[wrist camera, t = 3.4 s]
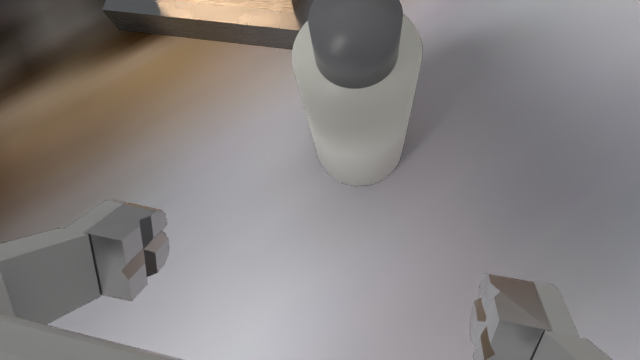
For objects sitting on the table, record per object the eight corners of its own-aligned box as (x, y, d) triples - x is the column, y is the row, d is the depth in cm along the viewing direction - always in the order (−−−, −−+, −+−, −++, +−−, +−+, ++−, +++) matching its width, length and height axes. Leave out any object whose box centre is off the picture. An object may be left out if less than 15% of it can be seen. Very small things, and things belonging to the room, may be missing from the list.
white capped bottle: (309, 178, 24) (266, 70, 14) (326, 102, 26) (299, -47, 15) (395, 192, 23) (420, 89, 13) (408, 113, 25) (438, -36, 14)
